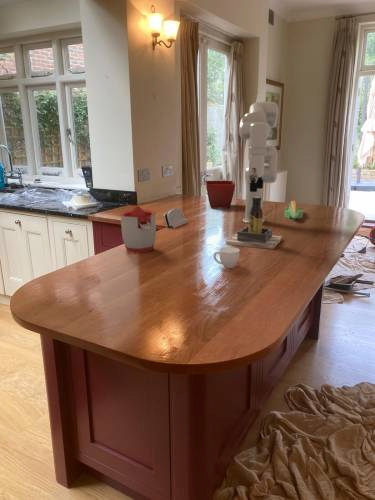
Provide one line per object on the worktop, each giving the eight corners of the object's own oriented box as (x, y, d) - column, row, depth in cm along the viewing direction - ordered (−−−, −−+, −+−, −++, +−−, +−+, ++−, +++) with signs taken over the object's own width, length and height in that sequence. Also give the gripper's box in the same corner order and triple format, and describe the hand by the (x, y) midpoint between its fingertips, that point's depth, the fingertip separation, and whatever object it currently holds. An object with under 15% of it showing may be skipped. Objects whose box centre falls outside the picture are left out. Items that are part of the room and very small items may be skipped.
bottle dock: (238, 235, 204) (238, 224, 203) (282, 239, 195) (282, 228, 193) (226, 244, 189) (226, 232, 187) (273, 249, 179) (273, 237, 178)
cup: (239, 269, 154) (239, 253, 152) (213, 269, 155) (213, 252, 153) (239, 263, 161) (239, 247, 159) (214, 262, 162) (214, 246, 160)
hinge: (173, 228, 221) (167, 210, 220) (166, 230, 223) (161, 212, 222) (188, 222, 235) (182, 205, 234) (181, 224, 237) (176, 207, 236)
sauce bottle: (246, 236, 195) (248, 195, 189) (259, 236, 195) (261, 195, 189) (250, 240, 188) (251, 198, 183) (263, 240, 189) (264, 197, 183)
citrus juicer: (130, 257, 170) (127, 211, 165) (117, 247, 185) (114, 204, 179) (164, 252, 177) (162, 207, 171) (149, 243, 192) (147, 201, 186)
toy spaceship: (304, 223, 228) (305, 210, 226) (285, 222, 230) (285, 210, 228) (301, 212, 258) (302, 200, 256) (284, 211, 260) (284, 200, 258)
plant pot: (234, 209, 271) (235, 183, 266) (206, 209, 271) (206, 184, 266) (232, 204, 289) (232, 180, 284) (205, 204, 289) (205, 180, 284)
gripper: (255, 150, 189) (253, 186, 194) (243, 153, 174) (242, 192, 179) (270, 150, 186) (269, 187, 191) (260, 153, 171) (259, 193, 176)
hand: (256, 190), depth 185 cm, fingers open, 9 cm apart
